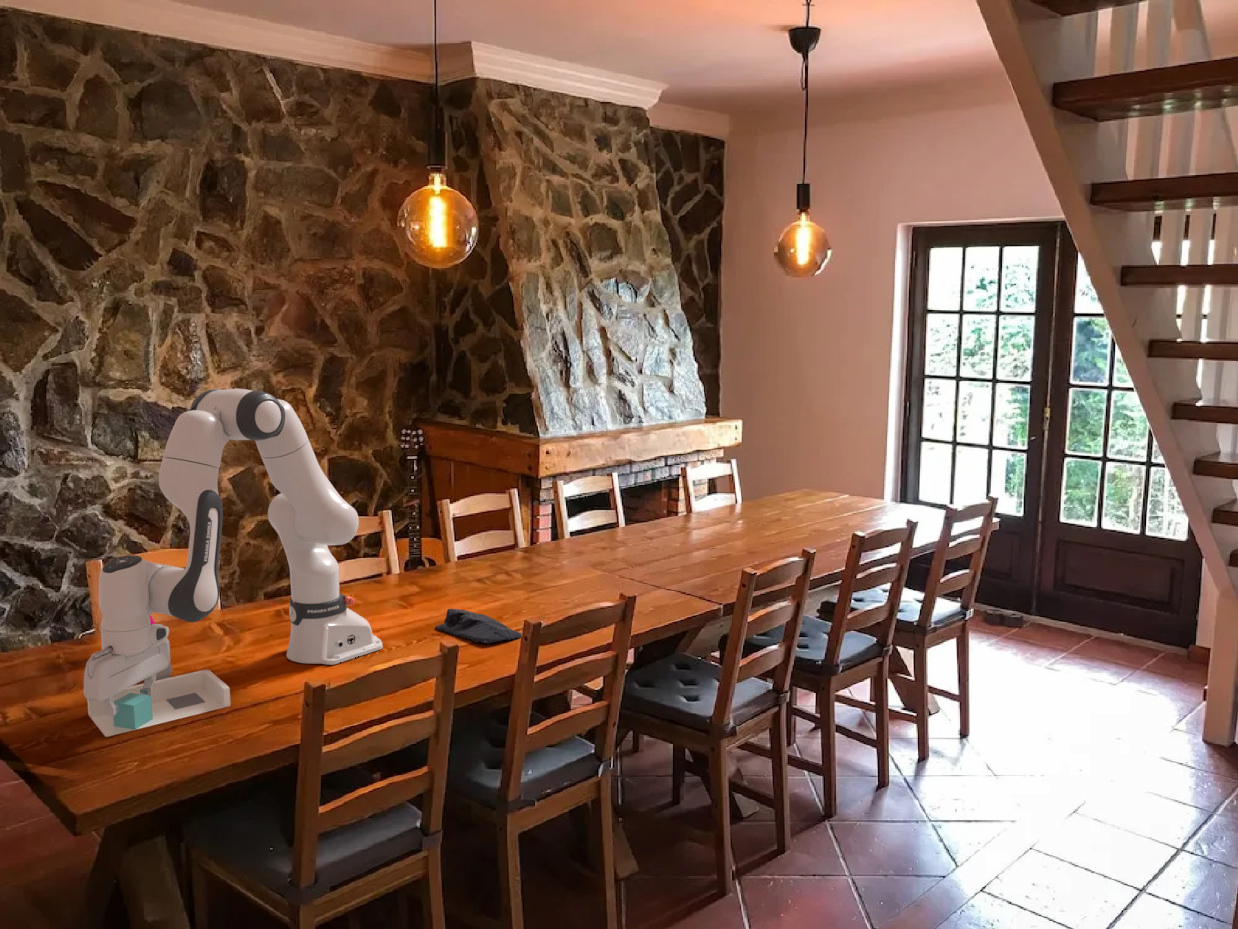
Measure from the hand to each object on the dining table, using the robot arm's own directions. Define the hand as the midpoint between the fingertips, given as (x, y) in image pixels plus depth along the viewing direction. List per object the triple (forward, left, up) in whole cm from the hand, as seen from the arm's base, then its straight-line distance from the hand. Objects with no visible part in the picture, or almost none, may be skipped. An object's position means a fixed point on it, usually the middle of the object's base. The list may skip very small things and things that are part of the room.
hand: (130, 705), depth 203 cm
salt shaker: (-11, -22, -5) cm, 25 cm away
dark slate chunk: (-86, -6, -6) cm, 86 cm away
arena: (-6, -3, -5) cm, 9 cm away
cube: (0, 0, -4) cm, 4 cm away
